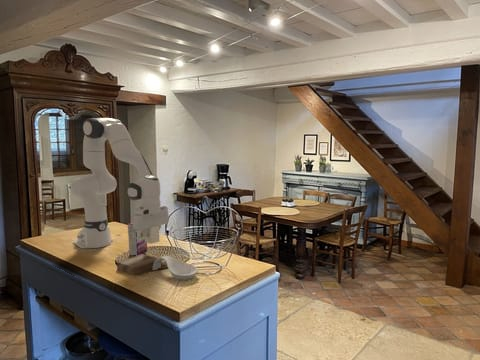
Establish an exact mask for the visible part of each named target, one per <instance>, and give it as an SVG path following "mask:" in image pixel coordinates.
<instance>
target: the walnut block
mask: <svg viewBox="0 0 480 360" xmlns="http://www.w3.org/2000/svg"><path fill="white" fill-rule="evenodd" d="M158 258H159V257H154V256H152V255H148V254H144V253H141V254H139V255H137V256H130V257H127V258H125V259H123V260H119V261H116V266H117V270H118V271H121V272H123V273H126V274H129V275H133V276H135V277H138V276H141V275H145V274H147V273H149V272H152V271H153V270H152V268H153V264H154V262H155V260H156V259H158ZM162 261H163V260H162ZM162 261H161V266H162V264H163V263H162Z"/></svg>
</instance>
